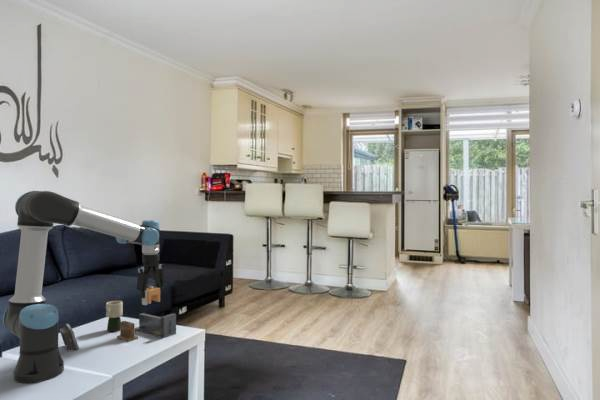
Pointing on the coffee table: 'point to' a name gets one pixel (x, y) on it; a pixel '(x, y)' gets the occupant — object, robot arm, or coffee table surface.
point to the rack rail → (157, 325)
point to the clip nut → (153, 294)
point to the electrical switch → (69, 337)
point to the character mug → (114, 314)
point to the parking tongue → (127, 331)
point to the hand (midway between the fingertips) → (151, 302)
